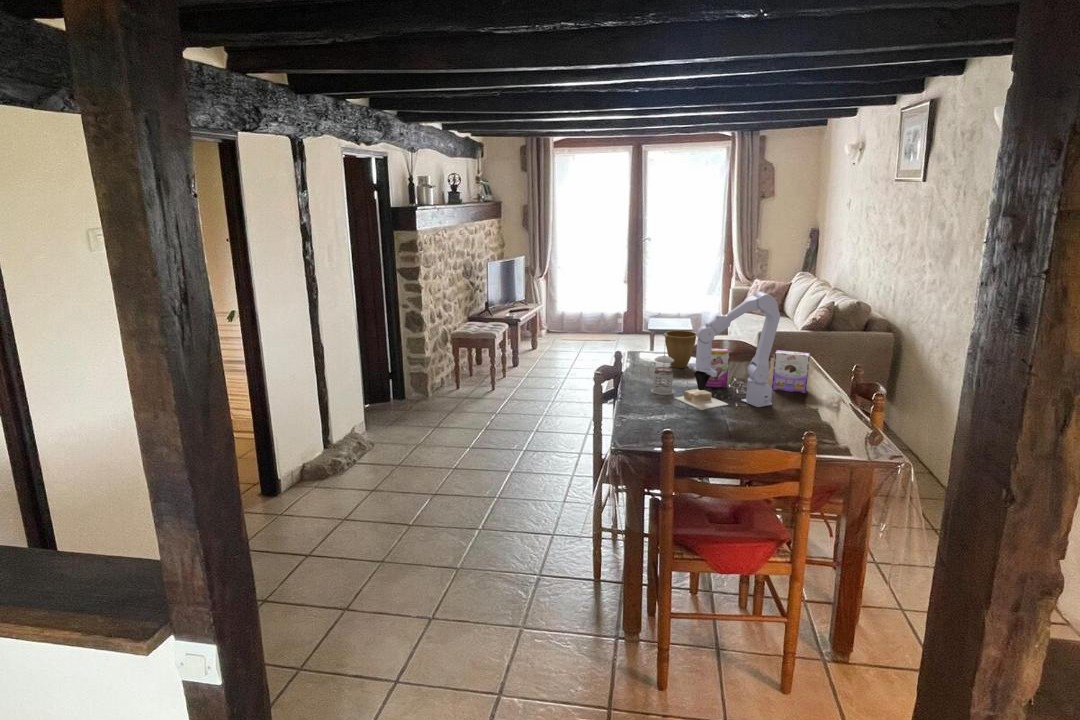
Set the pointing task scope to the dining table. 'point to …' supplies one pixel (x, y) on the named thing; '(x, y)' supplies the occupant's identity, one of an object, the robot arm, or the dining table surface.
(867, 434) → the dining table surface
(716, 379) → the candy bar box
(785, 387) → the candy box
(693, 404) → the mat
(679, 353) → the plant pot
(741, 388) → the dining table surface
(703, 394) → the slab
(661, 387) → the french press
